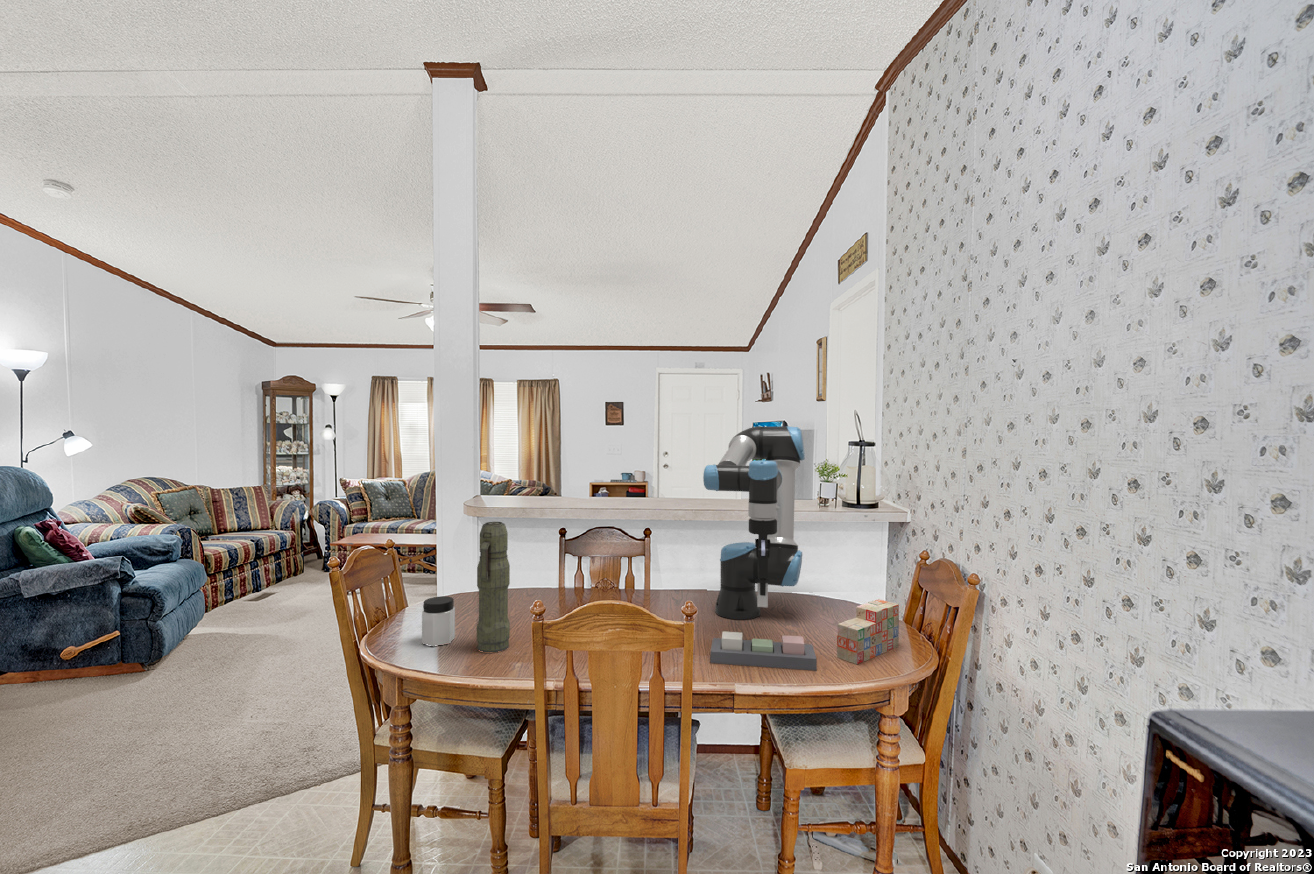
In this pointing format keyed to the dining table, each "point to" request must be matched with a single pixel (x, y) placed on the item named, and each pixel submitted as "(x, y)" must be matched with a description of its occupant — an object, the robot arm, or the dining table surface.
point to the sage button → (762, 645)
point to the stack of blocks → (869, 632)
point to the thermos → (493, 588)
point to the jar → (438, 620)
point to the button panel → (763, 656)
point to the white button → (732, 641)
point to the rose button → (792, 645)
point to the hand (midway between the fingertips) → (762, 606)
